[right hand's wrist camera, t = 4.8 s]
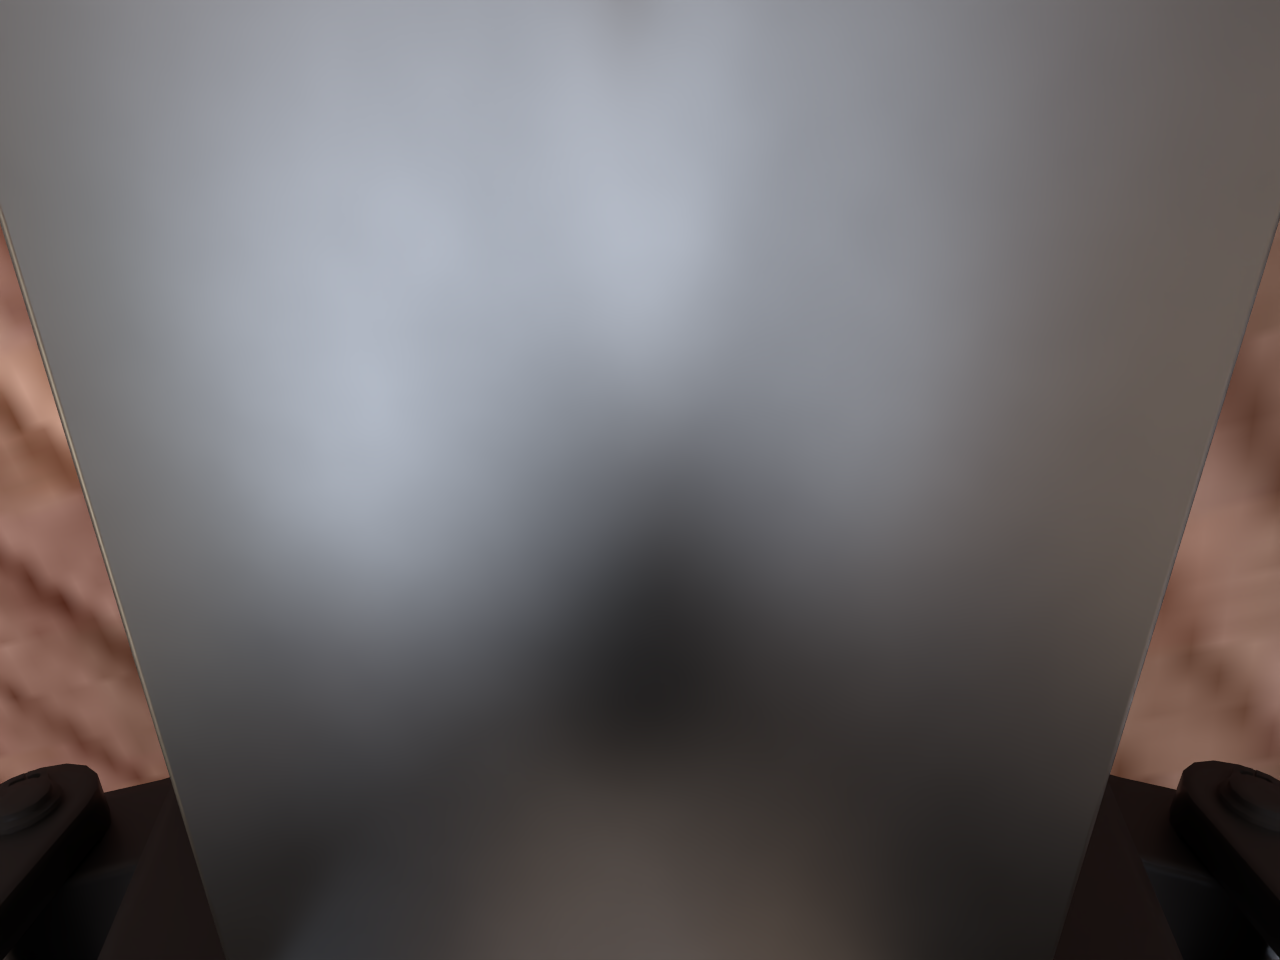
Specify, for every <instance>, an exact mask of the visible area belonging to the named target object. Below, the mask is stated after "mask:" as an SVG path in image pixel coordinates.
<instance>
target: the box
mask: <svg viewBox="0 0 1280 960" xmlns="http://www.w3.org/2000/svg"><path fill="white" fill-rule="evenodd" d="M1279 219H1280V0H0V224H1V227H2V230H3V234H4V237H5V240H6V243H7V247H8V250H9V253H10V257H11V260H12V263H13V266H14V270H15V273H16V276H17V279H18V283H19V286H20V289H21V292H22V296H23V299H24V302H25V305H26V309H27V312H28V315H29V319H30V322H31V325H32V328H33V332H34V335H35V338H36V341H37V345H38V348H39V351H40V354H41V358H42V361H43V364H44V367H45V371H46V374H47V377H48V380H49V384H50V387H51V390H52V394H53V397H54V400H55V403H56V407H57V410H58V413H59V416H60V420H61V423H62V426H63V429H64V433H65V436H66V439H67V442H68V446H69V449H70V452H71V456H72V459H73V462H74V465H75V469H76V472H77V475H78V478H79V482H80V485H81V488H82V491H83V495H84V498H85V501H86V504H87V508H88V511H89V514H90V518H91V521H92V524H93V527H94V531H95V534H96V537H97V540H98V544H99V547H100V550H101V553H102V557H103V560H104V563H105V566H106V570H107V573H108V576H109V580H110V583H111V586H112V589H113V593H114V596H115V599H116V602H117V606H118V609H119V612H120V615H121V619H122V622H123V625H124V628H125V632H126V635H127V638H128V642H129V645H130V648H131V651H132V655H133V658H134V661H135V664H136V668H137V671H138V674H139V677H140V681H141V684H142V687H143V690H144V694H145V697H146V700H147V704H148V707H149V710H150V713H151V717H152V720H153V723H154V726H155V730H156V733H157V736H158V739H159V743H160V746H161V749H162V752H163V756H164V759H165V762H166V766H167V769H168V772H169V775H170V779H171V782H172V785H173V788H174V792H175V795H176V798H177V801H178V805H179V808H180V811H181V814H182V818H183V821H184V824H185V828H186V831H187V834H188V837H189V841H190V844H191V847H192V850H193V854H194V857H195V860H196V863H197V867H198V870H199V873H200V876H201V880H202V883H203V886H204V890H205V893H206V896H207V899H208V903H209V906H210V909H211V912H212V916H213V919H214V922H215V925H216V929H217V932H218V935H219V938H220V942H221V945H222V948H223V951H224V955H225V958H226V960H1053V958H1054V955H1055V952H1056V948H1057V945H1058V942H1059V939H1060V935H1061V932H1062V929H1063V925H1064V922H1065V919H1066V916H1067V912H1068V909H1069V906H1070V903H1071V899H1072V896H1073V893H1074V890H1075V886H1076V883H1077V880H1078V876H1079V873H1080V870H1081V867H1082V863H1083V860H1084V857H1085V854H1086V850H1087V847H1088V844H1089V840H1090V837H1091V834H1092V831H1093V827H1094V824H1095V821H1096V818H1097V814H1098V811H1099V808H1100V805H1101V801H1102V798H1103V795H1104V791H1105V788H1106V785H1107V782H1108V778H1109V775H1110V772H1111V769H1112V765H1113V762H1114V759H1115V756H1116V752H1117V749H1118V746H1119V742H1120V739H1121V736H1122V733H1123V729H1124V726H1125V723H1126V720H1127V716H1128V713H1129V710H1130V706H1131V703H1132V700H1133V697H1134V693H1135V690H1136V687H1137V684H1138V680H1139V677H1140V674H1141V671H1142V667H1143V664H1144V661H1145V657H1146V654H1147V651H1148V648H1149V644H1150V641H1151V638H1152V635H1153V631H1154V628H1155V625H1156V621H1157V618H1158V615H1159V612H1160V608H1161V605H1162V602H1163V599H1164V595H1165V592H1166V589H1167V586H1168V582H1169V579H1170V576H1171V572H1172V569H1173V566H1174V563H1175V559H1176V556H1177V553H1178V550H1179V546H1180V543H1181V540H1182V536H1183V533H1184V530H1185V527H1186V523H1187V520H1188V517H1189V514H1190V510H1191V507H1192V504H1193V501H1194V497H1195V494H1196V491H1197V487H1198V484H1199V481H1200V478H1201V474H1202V471H1203V468H1204V465H1205V461H1206V458H1207V455H1208V451H1209V448H1210V445H1211V442H1212V438H1213V435H1214V432H1215V429H1216V425H1217V422H1218V419H1219V416H1220V412H1221V409H1222V406H1223V402H1224V399H1225V396H1226V393H1227V389H1228V386H1229V383H1230V380H1231V376H1232V373H1233V370H1234V367H1235V363H1236V360H1237V357H1238V353H1239V350H1240V347H1241V344H1242V340H1243V337H1244V334H1245V331H1246V327H1247V324H1248V321H1249V317H1250V314H1251V311H1252V308H1253V304H1254V301H1255V298H1256V295H1257V291H1258V288H1259V285H1260V282H1261V278H1262V275H1263V272H1264V268H1265V265H1266V262H1267V259H1268V255H1269V252H1270V249H1271V246H1272V242H1273V239H1274V236H1275V232H1276V229H1277V226H1278V223H1279Z"/></svg>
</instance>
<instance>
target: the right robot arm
mask: <svg viewBox="0 0 1280 960" xmlns="http://www.w3.org/2000/svg"><path fill="white" fill-rule="evenodd" d="M0 960H226V958H225V955H224V951H223V948H222V945H221V942H220V938H219V935H218V932H217V929H216V925H215V922H214V919H213V916H212V912H211V909H210V906H209V903H208V899H207V896H206V893H205V890H204V886H203V883H202V880H201V876H200V873H199V870H198V867H197V863H196V860H195V857H194V854H193V850H192V847H191V844H190V841H189V837H188V834H187V831H186V828H185V824H184V821H183V818H182V814H181V811H180V808H179V805H178V801H177V798H176V795H175V792H174V788H173V785H172V782H171V779H170V778H166V779H163V780H159V781H154V782H150V783H146V784H141V785H137V786H132V787H128V788H123V789H119V790H114V791H110V792H105V793H104V792H103V789H102V786H101V783H100V780H99V778H98V775H97V773H95V772H94V771H93V770H91V769H90V768H89V767H87V766H85V765H76V764H61V765H55V766H49V767H43V768H39V769H36V770H33V771H30V772H28V773H25V774H24V773H23V774H21V775H18V776H16V777H13V778H11V779H9V780H7V781H6V782H4V783H2V784H0ZM1053 960H1280V781H1279V780H1277V779H1275V778H1274V777H1272V776H1270V775H1268V774H1265V773H1263V772H1260V771H1257V770H1253V769H1252V768H1248V767H1244V766H1242V765H1238V764H1232V763H1226V762H1220V761H1204V762H1195V763H1193V764H1192V765H1190V766H1189V767H1188V768H1186V769H1185V770H1183V773H1182V776H1181V779H1180V781H1179V784H1178V787H1177V790H1175V789H1170V788H1166V787H1161V786H1157V785H1152V784H1148V783H1143V782H1139V781H1134V780H1130V779H1125V778H1121V777H1117V776H1113V775H1109V778H1108V782H1107V785H1106V788H1105V791H1104V795H1103V798H1102V801H1101V805H1100V808H1099V811H1098V814H1097V818H1096V821H1095V824H1094V827H1093V831H1092V834H1091V837H1090V840H1089V844H1088V847H1087V850H1086V854H1085V857H1084V860H1083V863H1082V867H1081V870H1080V873H1079V876H1078V880H1077V883H1076V886H1075V890H1074V893H1073V896H1072V899H1071V903H1070V906H1069V909H1068V912H1067V916H1066V919H1065V922H1064V925H1063V929H1062V932H1061V935H1060V939H1059V942H1058V945H1057V948H1056V952H1055V955H1054V958H1053Z"/></svg>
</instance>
